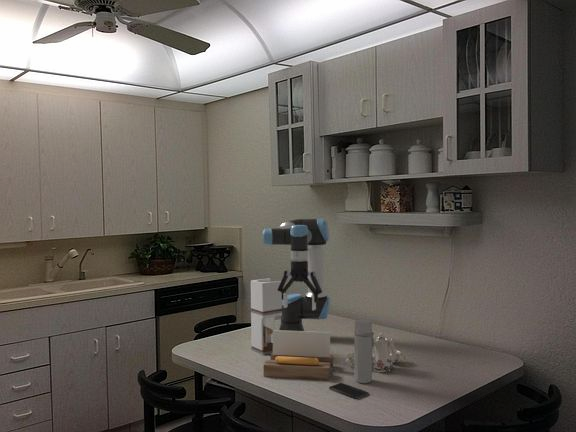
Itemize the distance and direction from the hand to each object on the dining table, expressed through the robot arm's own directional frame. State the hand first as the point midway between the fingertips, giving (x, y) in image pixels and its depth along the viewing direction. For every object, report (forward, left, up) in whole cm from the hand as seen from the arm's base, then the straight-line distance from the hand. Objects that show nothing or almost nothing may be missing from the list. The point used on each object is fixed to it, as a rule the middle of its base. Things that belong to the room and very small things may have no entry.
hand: (299, 308), depth 225 cm
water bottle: (+8, +29, -28) cm, 41 cm away
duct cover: (-5, 0, -17) cm, 18 cm away
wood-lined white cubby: (-27, -21, -28) cm, 44 cm away
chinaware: (-10, +34, -28) cm, 45 cm away
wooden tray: (0, 0, -27) cm, 28 cm away
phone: (+21, +23, -28) cm, 42 cm away
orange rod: (+6, 0, -23) cm, 23 cm away
